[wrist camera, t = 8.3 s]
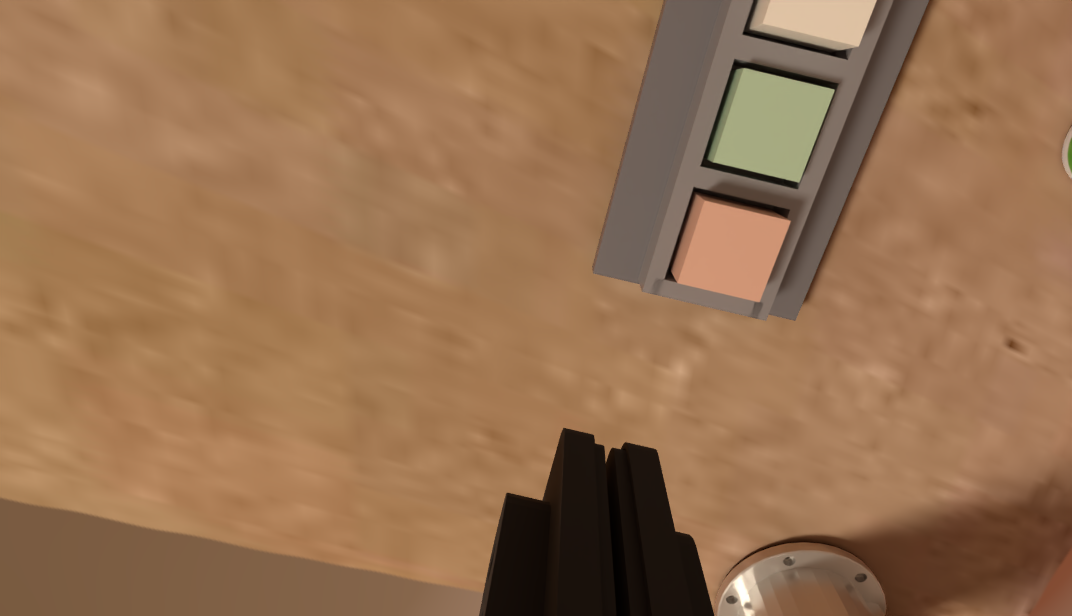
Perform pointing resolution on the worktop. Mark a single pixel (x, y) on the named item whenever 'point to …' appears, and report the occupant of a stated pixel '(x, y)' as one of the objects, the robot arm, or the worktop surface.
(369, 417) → the worktop surface
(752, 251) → the terracotta key
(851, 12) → the cream key
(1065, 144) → the supplement bottle
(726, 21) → the console
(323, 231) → the worktop surface
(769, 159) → the sage key
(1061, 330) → the worktop surface
